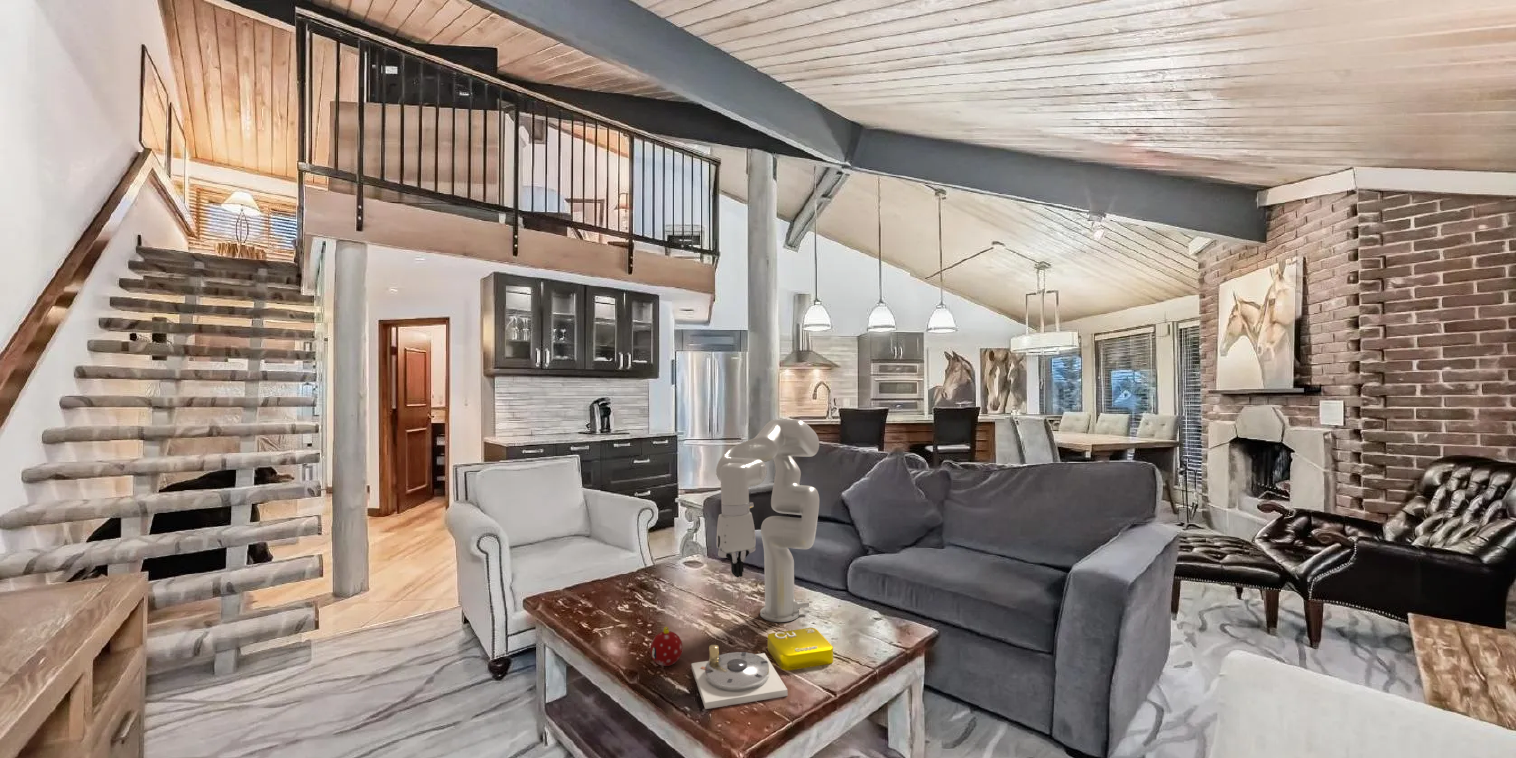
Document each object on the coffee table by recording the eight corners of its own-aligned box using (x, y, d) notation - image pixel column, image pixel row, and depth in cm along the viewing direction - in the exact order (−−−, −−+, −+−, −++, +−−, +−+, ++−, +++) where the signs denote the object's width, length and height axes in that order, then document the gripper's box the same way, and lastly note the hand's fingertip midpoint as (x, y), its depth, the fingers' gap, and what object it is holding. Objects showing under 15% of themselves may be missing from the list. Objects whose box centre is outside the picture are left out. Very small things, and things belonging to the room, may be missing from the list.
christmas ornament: (689, 664, 160) (688, 627, 160) (662, 675, 154) (661, 636, 154) (670, 653, 166) (670, 618, 166) (644, 664, 160) (643, 627, 160)
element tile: (782, 673, 155) (782, 654, 155) (765, 648, 170) (765, 631, 170) (836, 664, 160) (835, 646, 160) (814, 641, 174) (814, 624, 174)
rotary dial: (774, 662, 156) (774, 637, 156) (761, 694, 141) (761, 666, 141) (715, 657, 160) (715, 633, 160) (696, 687, 144) (696, 660, 144)
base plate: (764, 658, 162) (764, 652, 162) (787, 695, 143) (787, 688, 143) (691, 668, 157) (691, 662, 157) (705, 709, 138) (705, 701, 138)
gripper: (754, 502, 169) (757, 566, 170) (704, 509, 163) (707, 576, 163) (766, 508, 162) (768, 575, 163) (714, 516, 156) (716, 585, 157)
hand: (737, 575), depth 163 cm, fingers closed
